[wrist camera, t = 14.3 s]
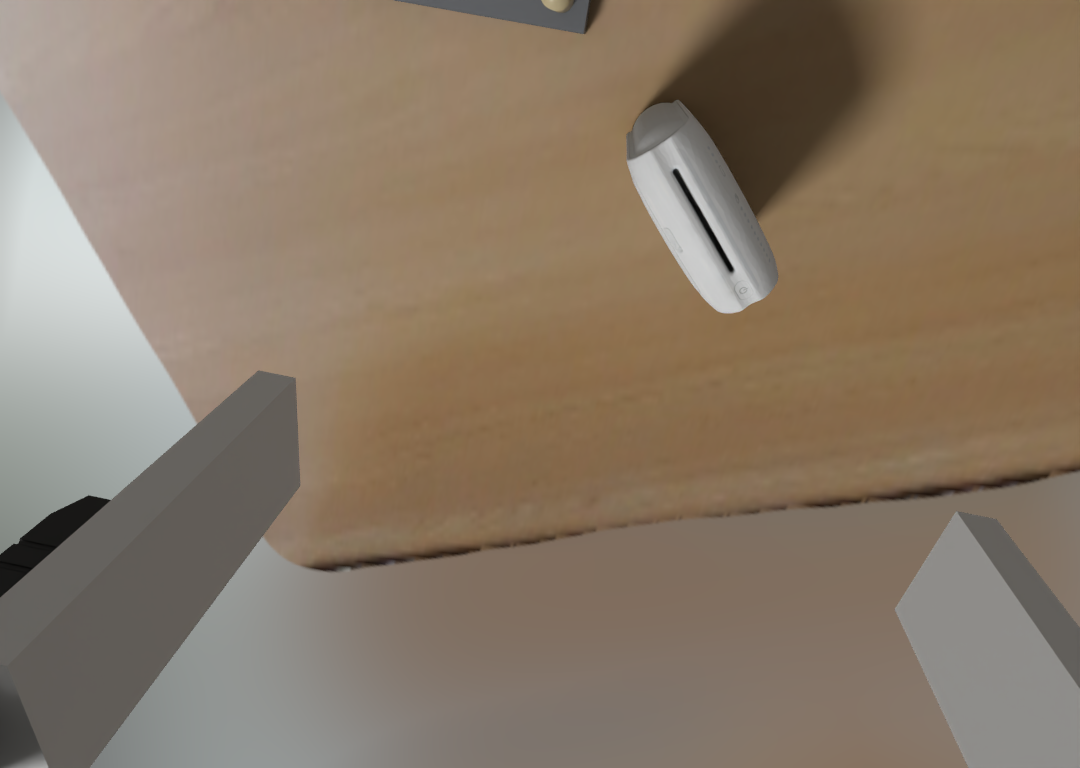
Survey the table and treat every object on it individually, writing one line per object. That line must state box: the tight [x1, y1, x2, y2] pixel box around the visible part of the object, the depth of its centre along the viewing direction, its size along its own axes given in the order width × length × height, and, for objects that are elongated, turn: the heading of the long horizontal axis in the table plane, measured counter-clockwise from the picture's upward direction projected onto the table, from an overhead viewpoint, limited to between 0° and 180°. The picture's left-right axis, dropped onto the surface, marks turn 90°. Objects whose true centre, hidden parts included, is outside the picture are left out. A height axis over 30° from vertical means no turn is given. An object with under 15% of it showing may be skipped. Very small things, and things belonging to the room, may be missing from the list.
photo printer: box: [626, 100, 778, 313], centre depth 34 cm, size 10×4×12 cm, turn 35°
